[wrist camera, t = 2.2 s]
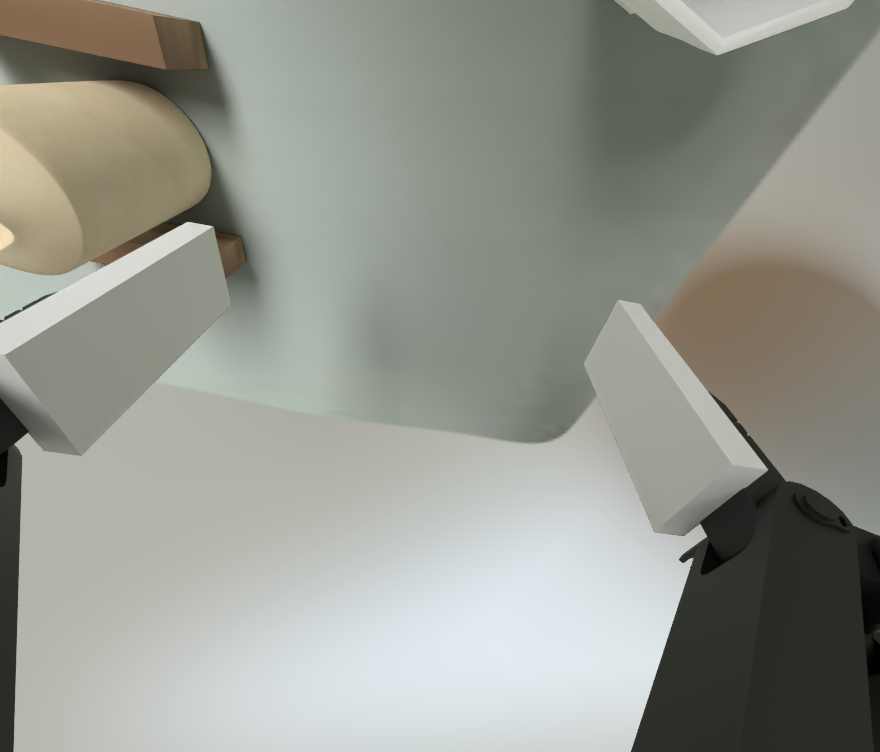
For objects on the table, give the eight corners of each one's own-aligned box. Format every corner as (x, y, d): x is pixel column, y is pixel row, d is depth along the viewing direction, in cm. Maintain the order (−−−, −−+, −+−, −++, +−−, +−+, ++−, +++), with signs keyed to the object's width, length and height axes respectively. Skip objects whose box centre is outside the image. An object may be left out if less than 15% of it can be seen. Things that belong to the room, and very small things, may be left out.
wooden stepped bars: (-60, -35, 14) (-218, -65, 11) (199, 21, 15) (124, 11, 12) (72, 230, 21) (-1, 261, 18) (246, 260, 22) (206, 295, 19)
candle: (156, 219, 21) (-22, 310, 13) (66, 104, 17) (-244, 136, 10) (236, 190, 19) (89, 271, 12) (156, 59, 16) (-122, 56, 8)
